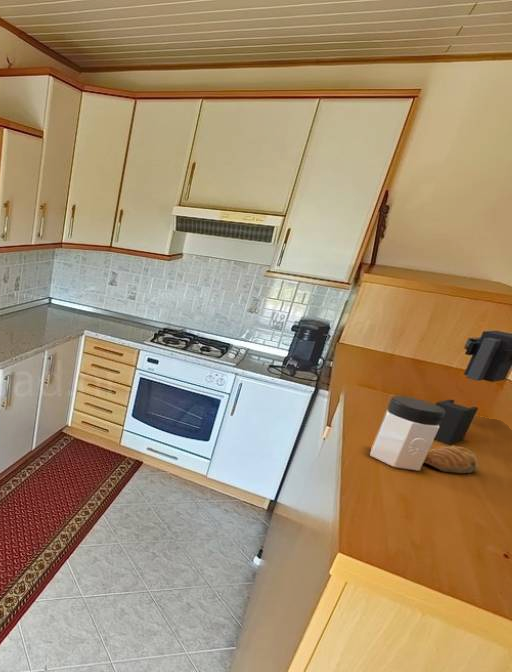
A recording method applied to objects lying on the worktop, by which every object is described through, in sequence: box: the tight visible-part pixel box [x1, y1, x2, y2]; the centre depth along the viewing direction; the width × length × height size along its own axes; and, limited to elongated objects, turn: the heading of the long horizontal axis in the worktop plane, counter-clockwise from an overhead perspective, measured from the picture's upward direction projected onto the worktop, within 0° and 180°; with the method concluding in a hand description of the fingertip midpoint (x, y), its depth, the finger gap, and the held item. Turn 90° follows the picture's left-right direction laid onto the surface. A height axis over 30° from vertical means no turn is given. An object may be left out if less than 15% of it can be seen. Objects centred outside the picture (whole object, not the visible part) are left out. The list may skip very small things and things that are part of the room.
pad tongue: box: [463, 330, 512, 383], centre depth 107 cm, size 10×5×10 cm, turn 118°
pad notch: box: [434, 398, 479, 445], centre depth 109 cm, size 7×5×8 cm
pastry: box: [423, 445, 479, 474], centre depth 95 cm, size 9×7×4 cm
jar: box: [369, 395, 445, 472], centre depth 94 cm, size 9×8×12 cm
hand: (486, 352), depth 105 cm, fingers closed on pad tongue, 5 cm apart
